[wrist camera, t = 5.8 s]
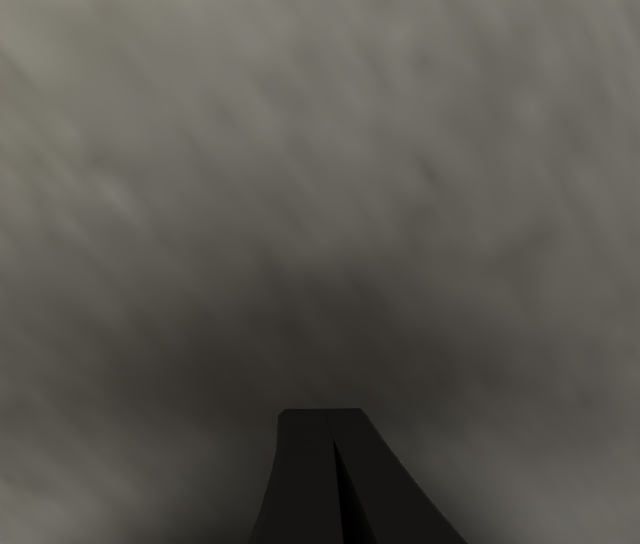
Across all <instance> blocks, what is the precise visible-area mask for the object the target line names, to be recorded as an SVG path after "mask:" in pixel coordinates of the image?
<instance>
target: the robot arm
mask: <svg viewBox="0 0 640 544" xmlns="http://www.w3.org/2000/svg"><path fill="white" fill-rule="evenodd" d="M248 544H468V543H467V542H466V541H465V540H464V539H463V538H462V537H461V536H460V535H459V533H458V532H457V531H456V530H455V529H454V528H453V527H452V525H451V524H450V523H449V522H448V521H447V520H446V519H445V517H444V516H443V515H442V514H441V513H440V512H439V510H438V509H437V508H436V507H435V505H434V504H433V503H432V502H431V500H430V499H429V498H428V497H427V496H426V494H425V493H424V492H423V491H422V489H421V488H420V487H419V486H418V485H417V483H416V482H415V481H414V480H413V478H412V477H411V476H410V474H409V473H408V472H407V471H406V469H405V468H404V467H403V465H402V464H401V463H400V461H399V460H398V459H397V457H396V456H395V455H394V453H393V452H392V451H391V449H390V448H389V446H388V445H387V444H386V442H385V441H384V439H383V438H382V437H381V435H380V434H379V432H378V431H377V430H376V428H375V427H374V425H373V424H372V422H371V421H370V419H369V418H368V416H367V415H366V414H365V413H364V412H363V411H362V410H361V409H360V408H349V409H285V410H284V411H283V412H282V413H280V414H279V415H278V428H277V447H276V454H275V459H274V463H273V468H272V472H271V476H270V479H269V482H268V486H267V489H266V493H265V496H264V500H263V503H262V507H261V510H260V513H259V516H258V518H257V521H256V524H255V526H254V529H253V532H252V534H251V537H250V540H249V543H248Z"/></svg>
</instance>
